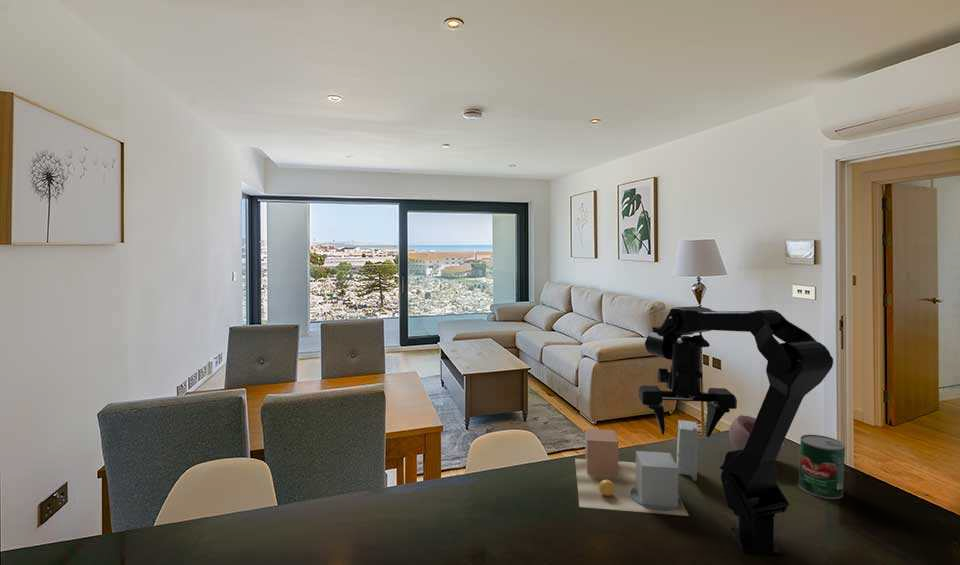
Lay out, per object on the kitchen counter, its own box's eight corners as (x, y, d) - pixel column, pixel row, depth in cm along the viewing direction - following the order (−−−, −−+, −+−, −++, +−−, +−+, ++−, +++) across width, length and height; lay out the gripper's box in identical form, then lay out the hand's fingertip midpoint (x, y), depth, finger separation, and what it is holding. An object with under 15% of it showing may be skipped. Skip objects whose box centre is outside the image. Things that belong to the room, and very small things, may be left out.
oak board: (688, 521, 88) (688, 514, 88) (579, 512, 92) (579, 505, 92) (662, 468, 110) (662, 463, 110) (574, 463, 113) (575, 457, 113)
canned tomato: (801, 494, 98) (803, 444, 97) (795, 478, 105) (797, 431, 104) (847, 503, 94) (849, 451, 94) (838, 485, 101) (840, 438, 101)
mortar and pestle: (775, 477, 105) (777, 429, 105) (721, 460, 114) (722, 416, 113) (789, 461, 113) (791, 416, 113) (737, 446, 122) (738, 405, 121)
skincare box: (675, 467, 111) (676, 419, 110) (695, 470, 109) (696, 421, 108) (677, 479, 105) (678, 428, 104) (698, 482, 103) (699, 430, 103)
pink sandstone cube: (618, 475, 104) (618, 442, 104) (587, 473, 106) (587, 440, 105) (614, 461, 111) (614, 430, 111) (585, 460, 112) (585, 428, 112)
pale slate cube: (677, 506, 91) (678, 468, 90) (641, 503, 92) (642, 465, 92) (669, 488, 98) (669, 452, 97) (635, 486, 99) (635, 450, 98)
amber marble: (615, 499, 94) (615, 484, 94) (599, 498, 95) (599, 483, 95) (613, 491, 97) (613, 477, 97) (598, 490, 98) (598, 476, 98)
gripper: (719, 357, 103) (717, 423, 104) (634, 355, 106) (633, 419, 107) (738, 369, 92) (736, 443, 93) (643, 366, 96) (642, 438, 96)
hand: (684, 435), depth 98 cm, fingers open, 9 cm apart
